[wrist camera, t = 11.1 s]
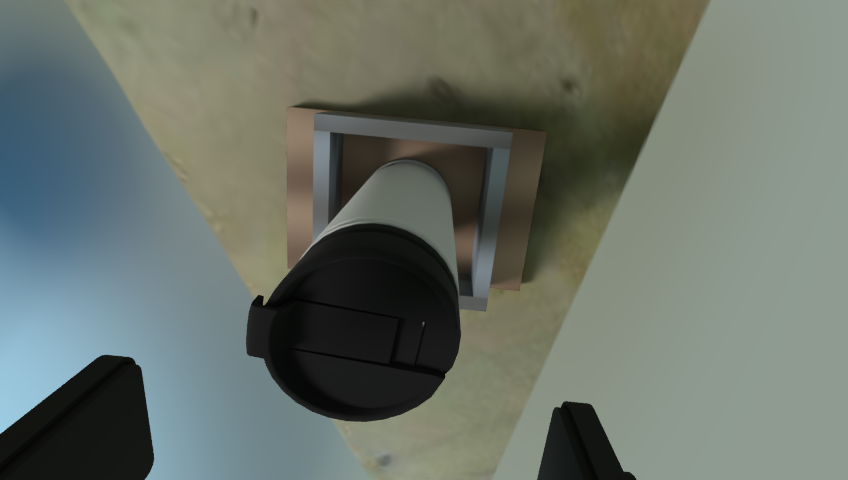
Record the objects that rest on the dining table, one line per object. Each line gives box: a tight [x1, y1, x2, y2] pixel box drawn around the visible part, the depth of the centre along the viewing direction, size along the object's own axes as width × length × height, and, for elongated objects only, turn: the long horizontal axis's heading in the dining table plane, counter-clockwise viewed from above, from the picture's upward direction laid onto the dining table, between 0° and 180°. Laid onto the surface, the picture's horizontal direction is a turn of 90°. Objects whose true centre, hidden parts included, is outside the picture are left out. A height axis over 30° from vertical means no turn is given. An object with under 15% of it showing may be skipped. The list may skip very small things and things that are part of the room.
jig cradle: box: [286, 107, 547, 311], centre depth 31 cm, size 12×18×5 cm, turn 85°
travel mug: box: [246, 158, 461, 422], centre depth 22 cm, size 6×7×20 cm
